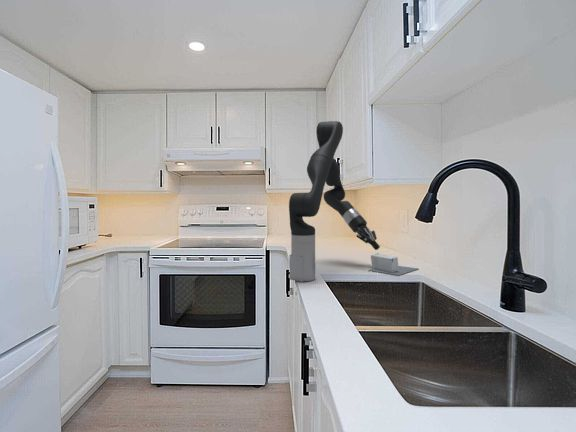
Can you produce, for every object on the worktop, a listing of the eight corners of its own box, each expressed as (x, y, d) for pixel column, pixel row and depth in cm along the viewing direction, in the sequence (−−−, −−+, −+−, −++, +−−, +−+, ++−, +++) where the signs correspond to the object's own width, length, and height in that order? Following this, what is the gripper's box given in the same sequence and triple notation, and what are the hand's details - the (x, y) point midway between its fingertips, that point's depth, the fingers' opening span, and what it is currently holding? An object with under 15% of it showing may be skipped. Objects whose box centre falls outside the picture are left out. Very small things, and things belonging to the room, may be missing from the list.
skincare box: (378, 265, 152) (399, 270, 142) (371, 268, 150) (392, 273, 140) (377, 252, 151) (398, 256, 141) (369, 254, 149) (391, 258, 139)
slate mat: (398, 275, 135) (398, 274, 135) (368, 271, 145) (368, 270, 145) (418, 269, 148) (418, 268, 148) (389, 265, 158) (389, 264, 158)
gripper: (351, 215, 152) (375, 244, 144) (367, 214, 161) (390, 241, 153) (341, 226, 156) (364, 255, 148) (357, 224, 165) (380, 252, 157)
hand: (377, 248), depth 151 cm, fingers closed
